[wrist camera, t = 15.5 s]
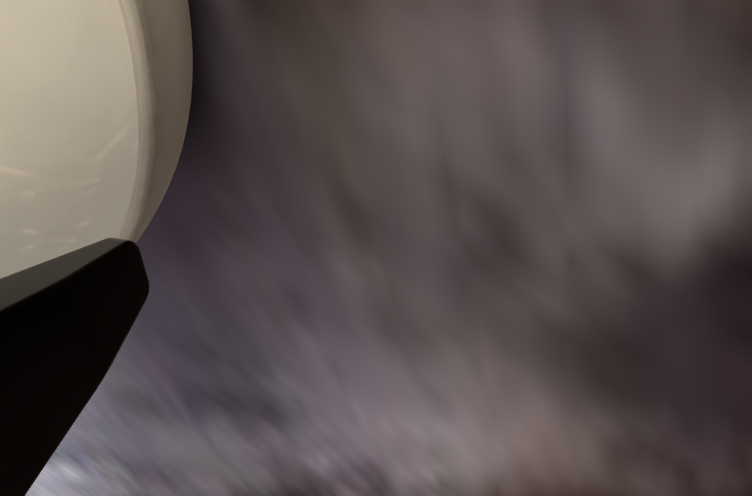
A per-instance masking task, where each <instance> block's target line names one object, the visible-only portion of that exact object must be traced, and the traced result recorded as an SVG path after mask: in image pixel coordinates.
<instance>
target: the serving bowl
mask: <svg viewBox="0 0 752 496" xmlns="http://www.w3.org/2000/svg"><path fill="white" fill-rule="evenodd" d="M192 77H193V49H192V31H191V22H190V13H189V4H188V0H0V279H1V278H3V277H6V276H8V275H11V274H14V273H16V272H19V271H22V270H24V269H27V268H30V267H32V266H35V265H38V264H40V263H43V262H45V261H48V260H51V259H53V258H56V257H59V256H61V255H64V254H67V253H69V252H72V251H75V250H77V249H80V248H82V247H85V246H88V245H90V244H93V243H96V242H98V241H101V240H104V239H106V238H118V239H125V240H131V241H133V242H135V243H137V241H138V240H139V238H140V237H141V236H142V234H143V233H144V231H145V230H146V228H147V227H148V225H149V224H150V222H151V220H152V218H153V217H154V215H155V213H156V211H157V210H158V208H159V206H160V204H161V202H162V200H163V198H164V196H165V194H166V192H167V189H168V187H169V185H170V182H171V180H172V177H173V175H174V172H175V169H176V167H177V164H178V160H179V157H180V154H181V151H182V147H183V143H184V138H185V134H186V129H187V125H188V118H189V111H190V104H191V93H192Z"/></svg>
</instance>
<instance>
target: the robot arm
mask: <svg viewBox="0 0 752 496" xmlns="http://www.w3.org/2000/svg"><path fill="white" fill-rule="evenodd" d="M148 293H149V281H148V277H147V274H146V270H145V267H144V263H143V260H142V256H141V253H140V250H139V247H138V246H137V245H136V243H135V242H133V241H131V240H125V239H118V238H106V239H104V240H101V241H98V242H96V243H93V244H90V245H88V246H85V247H82V248H80V249H77V250H75V251H72V252H69V253H67V254H64V255H61V256H59V257H56V258H53V259H51V260H48V261H45V262H43V263H40V264H38V265H35V266H32V267H30V268H27V269H24V270H22V271H19V272H16V273H14V274H11V275H8V276H6V277H3V278H1V279H0V496H25V494H26V493H27V491H28V490H29V488H30V487H31V485H32V484H33V483H34V481H35V480H36V478H37V477H38V475H39V474H40V472H41V471H42V469H43V468H44V466H45V465H46V463H47V462H48V460H49V459H50V457H51V456H52V454H53V453H54V451H55V450H56V448H57V447H58V446H59V444H60V443H61V441H62V440H63V438H64V437H65V435H66V434H67V432H68V431H69V429H70V428H71V426H72V425H73V423H74V422H75V420H76V419H77V417H78V416H79V414H80V413H81V411H82V410H83V409H84V407H85V406H86V404H87V403H88V401H89V400H90V398H91V397H92V395H93V394H94V392H95V391H96V389H97V388H98V386H99V385H100V383H101V381H102V380H103V378H104V377H105V375H106V373H107V371H108V370H109V368H110V366H111V364H112V363H113V361H114V359H115V357H116V355H117V353H118V351H119V350H120V348H121V346H122V344H123V342H124V340H125V338H126V336H127V335H128V333H129V331H130V329H131V327H132V325H133V323H134V322H135V320H136V318H137V316H138V314H139V312H140V310H141V309H142V307H143V305H144V303H145V301H146V299H147V296H148Z"/></svg>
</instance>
